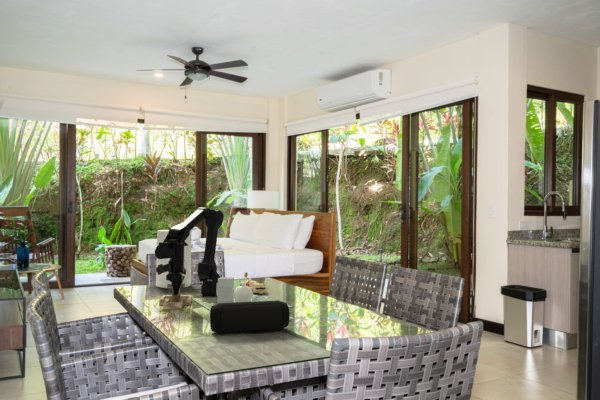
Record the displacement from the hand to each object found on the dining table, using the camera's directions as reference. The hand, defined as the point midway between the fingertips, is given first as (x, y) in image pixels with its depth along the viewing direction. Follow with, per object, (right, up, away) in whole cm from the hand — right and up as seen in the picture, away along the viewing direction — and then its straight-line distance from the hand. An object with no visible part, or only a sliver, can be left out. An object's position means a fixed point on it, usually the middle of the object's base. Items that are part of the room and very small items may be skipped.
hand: (176, 294), depth 208 cm
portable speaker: (+36, -5, -43) cm, 56 cm away
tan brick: (0, -3, 0) cm, 3 cm away
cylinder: (-13, -4, +44) cm, 46 cm away
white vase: (+30, -5, -16) cm, 34 cm away
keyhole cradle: (0, -4, -4) cm, 6 cm away
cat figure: (+29, -5, +35) cm, 46 cm away
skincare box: (+22, -5, -6) cm, 23 cm away
